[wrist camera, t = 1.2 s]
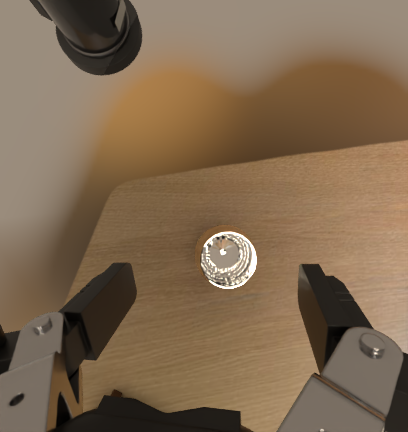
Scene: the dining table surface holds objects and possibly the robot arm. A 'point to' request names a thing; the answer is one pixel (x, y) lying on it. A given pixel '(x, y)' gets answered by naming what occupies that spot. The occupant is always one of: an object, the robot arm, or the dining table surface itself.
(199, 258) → the wineglass
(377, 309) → the dining table surface
